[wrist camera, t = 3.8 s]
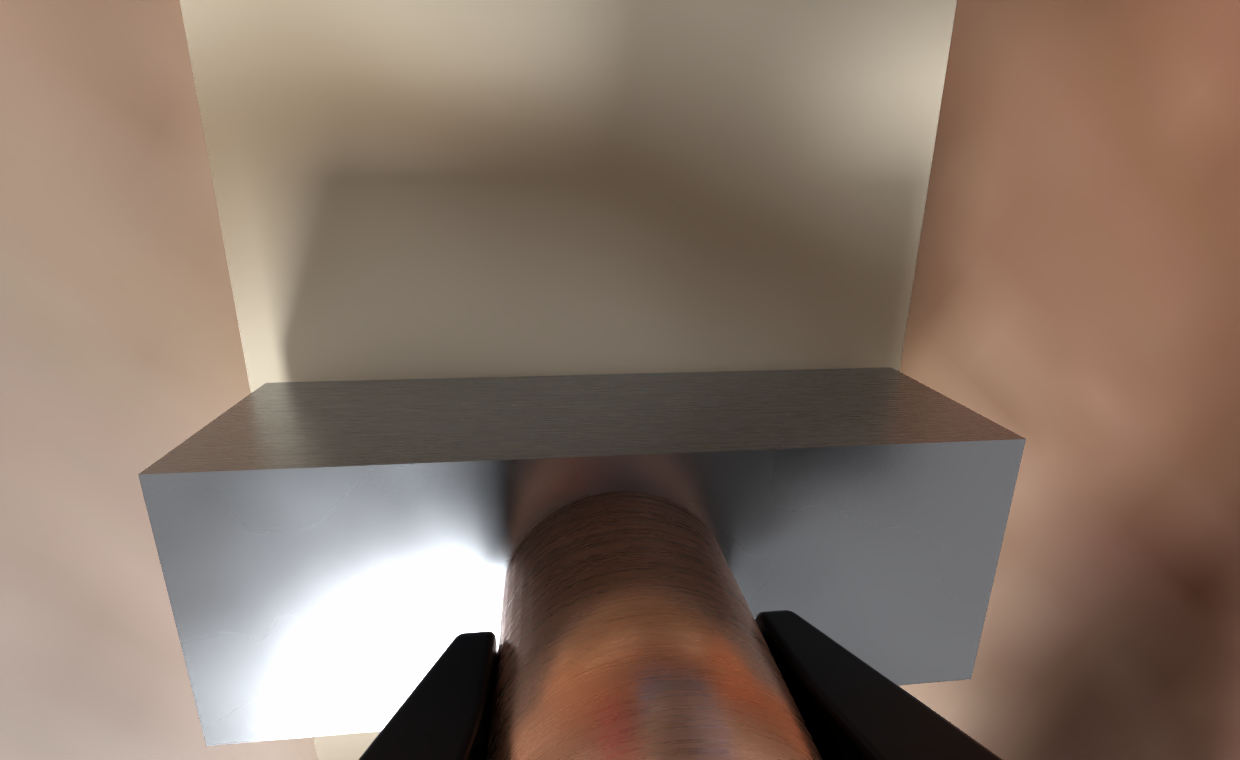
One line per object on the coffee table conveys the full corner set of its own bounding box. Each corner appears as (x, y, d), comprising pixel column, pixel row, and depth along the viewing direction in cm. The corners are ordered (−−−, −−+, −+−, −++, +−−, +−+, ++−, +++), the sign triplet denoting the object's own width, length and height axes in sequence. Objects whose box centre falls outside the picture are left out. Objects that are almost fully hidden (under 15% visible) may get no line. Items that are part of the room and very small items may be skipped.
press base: (801, 872, 18) (923, 1198, 12) (366, 925, 16) (272, 1321, 11) (924, -2, 11) (1327, -196, 5) (205, -36, 10) (-280, -349, 4)
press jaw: (863, 553, 13) (1432, 1215, 5) (301, 587, 11) (-295, 1582, 3) (891, 367, 11) (1732, 815, 3) (265, 382, 10) (-816, 1161, 2)
